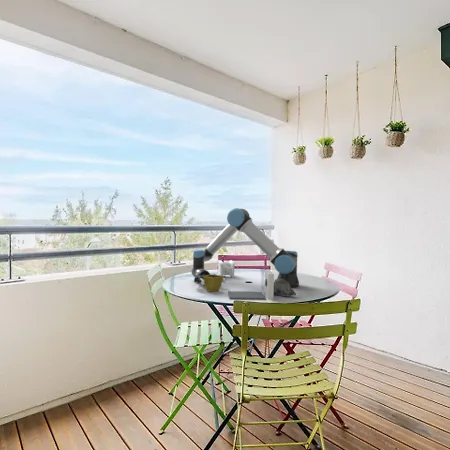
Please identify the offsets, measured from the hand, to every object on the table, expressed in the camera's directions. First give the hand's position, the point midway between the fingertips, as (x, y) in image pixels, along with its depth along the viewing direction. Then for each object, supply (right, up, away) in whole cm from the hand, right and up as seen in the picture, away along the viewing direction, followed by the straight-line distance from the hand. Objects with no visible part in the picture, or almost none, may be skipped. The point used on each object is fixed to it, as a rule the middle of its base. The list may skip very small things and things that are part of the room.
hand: (214, 281), depth 199 cm
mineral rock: (+40, -7, -6) cm, 41 cm away
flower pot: (-1, -6, +3) cm, 7 cm away
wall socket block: (+31, -7, -8) cm, 33 cm away
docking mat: (+18, -7, -8) cm, 21 cm away
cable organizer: (+7, -4, +46) cm, 47 cm away
